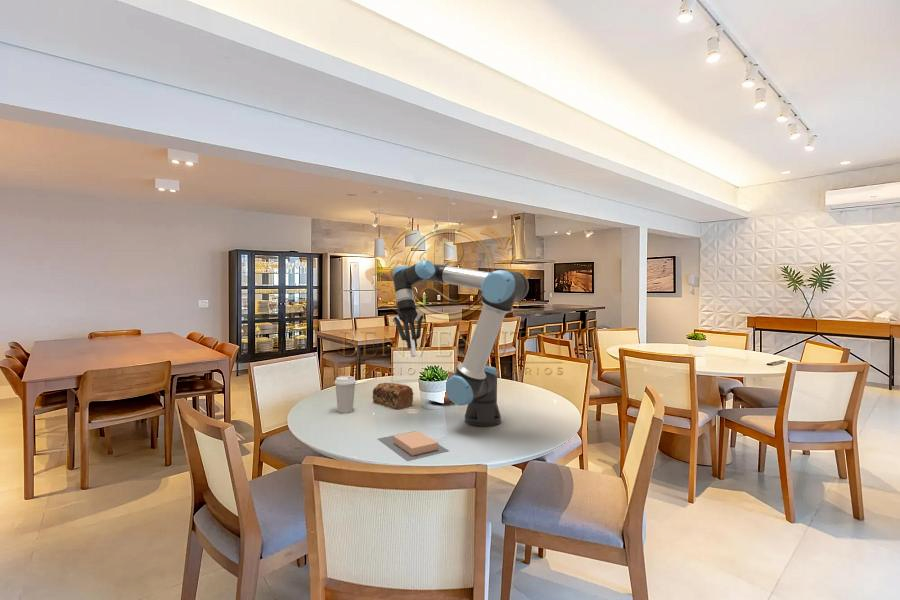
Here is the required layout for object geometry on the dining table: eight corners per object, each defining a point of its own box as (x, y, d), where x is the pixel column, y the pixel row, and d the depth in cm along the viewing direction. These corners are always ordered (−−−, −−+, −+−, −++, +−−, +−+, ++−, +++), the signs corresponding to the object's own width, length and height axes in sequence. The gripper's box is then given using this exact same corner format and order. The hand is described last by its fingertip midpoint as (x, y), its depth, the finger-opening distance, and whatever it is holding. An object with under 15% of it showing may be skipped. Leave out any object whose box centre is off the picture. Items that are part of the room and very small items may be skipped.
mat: (376, 439, 156) (376, 438, 156) (415, 432, 165) (415, 431, 165) (407, 462, 136) (407, 461, 136) (449, 452, 145) (449, 451, 145)
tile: (393, 435, 152) (412, 448, 140) (418, 430, 157) (438, 442, 145) (393, 443, 152) (412, 456, 140) (418, 438, 157) (438, 450, 145)
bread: (413, 406, 202) (413, 384, 202) (396, 410, 194) (396, 388, 194) (389, 399, 215) (389, 379, 215) (371, 403, 207) (371, 382, 207)
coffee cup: (350, 414, 187) (350, 380, 187) (330, 413, 189) (330, 379, 189) (359, 408, 196) (359, 376, 196) (340, 407, 198) (340, 375, 198)
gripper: (417, 304, 187) (426, 357, 179) (388, 305, 182) (395, 359, 174) (422, 297, 180) (431, 352, 173) (392, 298, 175) (400, 355, 168)
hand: (413, 356), depth 174 cm, fingers closed
